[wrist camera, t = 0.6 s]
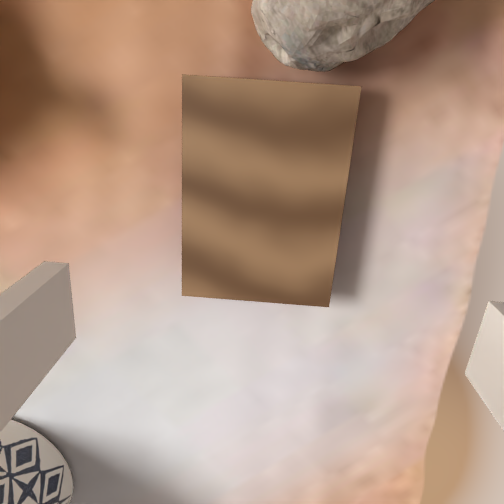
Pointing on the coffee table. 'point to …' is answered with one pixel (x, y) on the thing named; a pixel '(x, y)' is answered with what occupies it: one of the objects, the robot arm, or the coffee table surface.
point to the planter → (32, 468)
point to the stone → (329, 28)
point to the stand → (264, 187)
